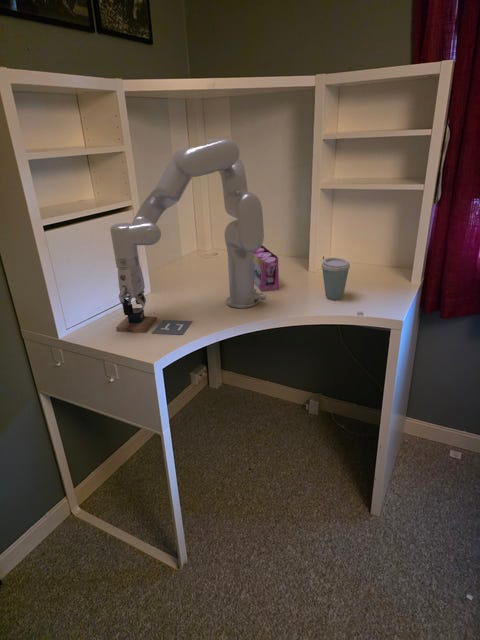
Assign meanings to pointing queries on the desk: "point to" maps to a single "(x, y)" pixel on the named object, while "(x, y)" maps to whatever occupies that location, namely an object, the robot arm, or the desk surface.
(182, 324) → the mat
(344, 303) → the desk surface
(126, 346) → the desk surface
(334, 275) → the disposable coffee cup
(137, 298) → the watch
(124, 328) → the walnut board
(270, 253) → the gum box
